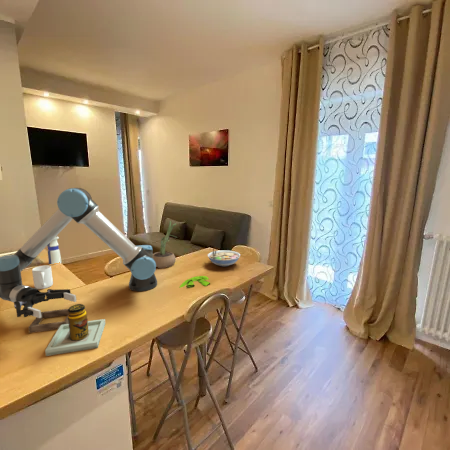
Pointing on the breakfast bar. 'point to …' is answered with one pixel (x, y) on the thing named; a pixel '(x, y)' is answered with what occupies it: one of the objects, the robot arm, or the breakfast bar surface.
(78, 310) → the condiment
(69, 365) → the breakfast bar surface
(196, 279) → the cloth
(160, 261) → the potted plant
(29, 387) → the breakfast bar surface
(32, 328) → the holder
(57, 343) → the tray
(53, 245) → the water bottle
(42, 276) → the mug
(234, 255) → the ramen bowl
